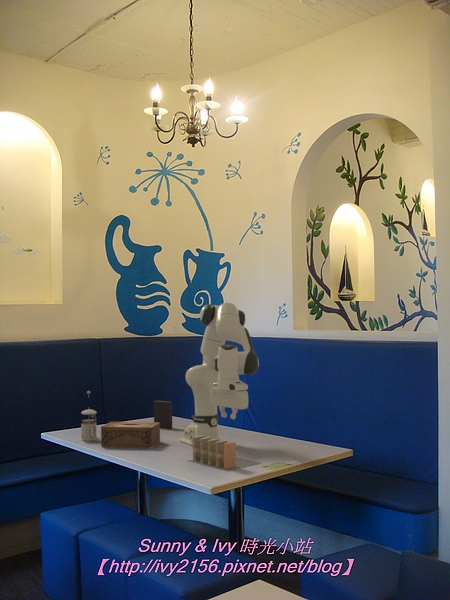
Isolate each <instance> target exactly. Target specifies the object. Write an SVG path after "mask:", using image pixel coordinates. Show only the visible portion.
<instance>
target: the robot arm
mask: <svg viewBox="0 0 450 600" xmlns="http://www.w3.org/2000/svg"><path fill="white" fill-rule="evenodd" d="M199 318H200V319H199V322H201V325H204V326H206V328H205V331H204V333H203V338H202V342H201V346H200V353H201V355H202V364H200V365H199V364H197V365H194V366H191V367H190V368H189V369H187V370H186V373H185V381H186V383H187V385H188V386H189V387H190V388H191V391H192V394H193V398H194V415H192V416H191V418H193V419H192V422H191V423H190V424H189V425H188V426H186V428H184V431H183V437H181V438H179V439H178V441H179V442H180V443H183V444H187V445H189V446H192V447H193V437H196V436H204V438H206V437H211V438H212V439H219V441H222V438H221V433H220V425H219V424H218V423H219V414H218V408H219V411H220V413H221V415H220V417H221V418H223V419H224V418H227V417H228V413H227V412H226V410H225V409H226V408H228V409H231V411H232V412H231V413H230V414H229V416H230V417H229V418H230V420H235V419H236V418H237V413H238V411H239V410H247V409H248V408H249V393H248V391H247V390H248V389H249V386H248V385H249V384H247V383H245V382H243V381H242V380H240V375H247V376H252V375H254V374H255V373H257V372H258V370H259V367H260V366H259V365H260V363H259V362H260V361H259V358H258V354H257V353H256V351H255V348H254V345H253V341H252V338H251V335H250V332H249V330H248V329H247V328H246V327H244V326H245V324H246V314H245V312H244V311H242V310H240V309H238V308H237V306H236V305H235V304H234V303H232V302H224V303H222V304H220V305H216V304H214V305H213V304H212V303H207V304H204V305H203V307H202V309H200V312H199ZM226 341H228V342H233V343H237V344H239V345H241V346H242V348H243V351H238V347H237V346H236V345H235V344H226Z"/></svg>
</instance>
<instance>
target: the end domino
mask: <svg viewBox="0 0 450 600" xmlns="http://www.w3.org/2000/svg"><path fill="white" fill-rule="evenodd" d="M236 457H237V456H236V442H235V441H230V442H227V443H224V468H225V469H228V468H232V467H236Z"/></svg>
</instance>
